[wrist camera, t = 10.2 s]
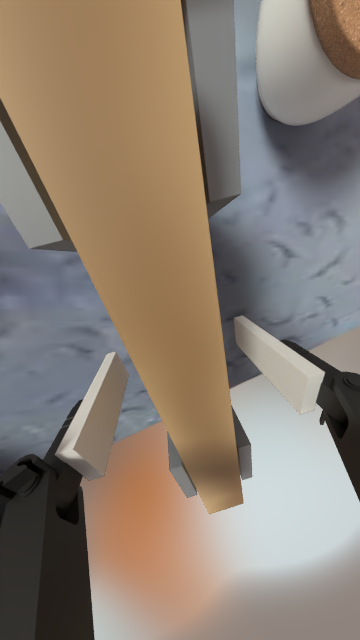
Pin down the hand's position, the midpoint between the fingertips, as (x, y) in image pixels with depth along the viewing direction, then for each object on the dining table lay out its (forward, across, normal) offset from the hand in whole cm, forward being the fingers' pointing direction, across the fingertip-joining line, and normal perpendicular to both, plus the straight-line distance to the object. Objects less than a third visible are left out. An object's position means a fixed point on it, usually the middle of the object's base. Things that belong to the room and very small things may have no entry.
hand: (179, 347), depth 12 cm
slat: (0, 0, 0) cm, 1 cm away
